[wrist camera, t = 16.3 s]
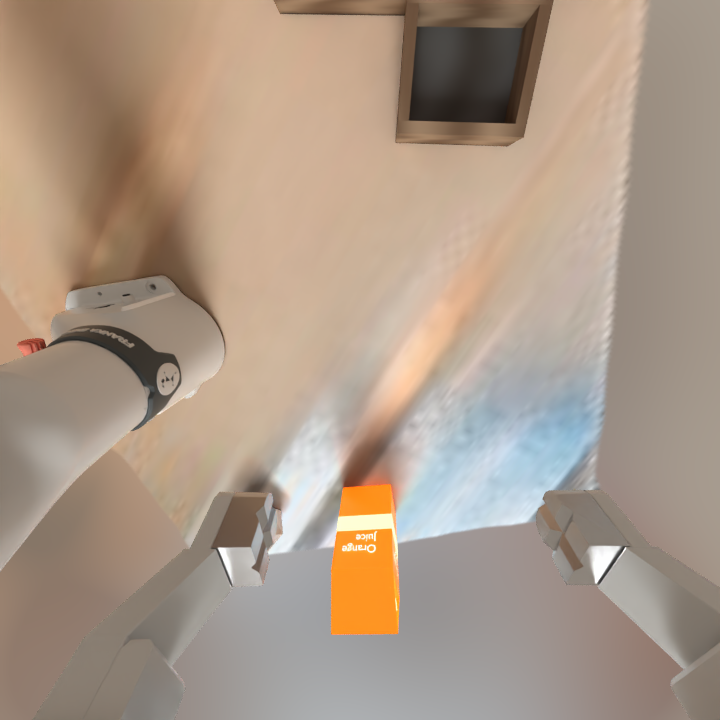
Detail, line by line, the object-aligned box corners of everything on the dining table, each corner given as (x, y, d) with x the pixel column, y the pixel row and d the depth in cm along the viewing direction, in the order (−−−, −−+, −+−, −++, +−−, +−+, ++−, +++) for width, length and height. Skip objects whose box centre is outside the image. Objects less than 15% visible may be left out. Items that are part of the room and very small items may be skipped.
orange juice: (395, 513, 57) (402, 649, 39) (350, 516, 58) (336, 649, 40) (390, 483, 54) (394, 616, 36) (342, 486, 55) (323, 617, 37)
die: (272, 485, 57) (223, 521, 51) (299, 525, 55) (251, 567, 49) (264, 497, 63) (219, 531, 56) (288, 533, 61) (245, 573, 54)
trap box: (286, 139, 34) (274, 128, 30) (271, -154, 25) (251, -223, 21) (507, 146, 32) (524, 136, 29) (569, -158, 24) (605, -231, 20)
